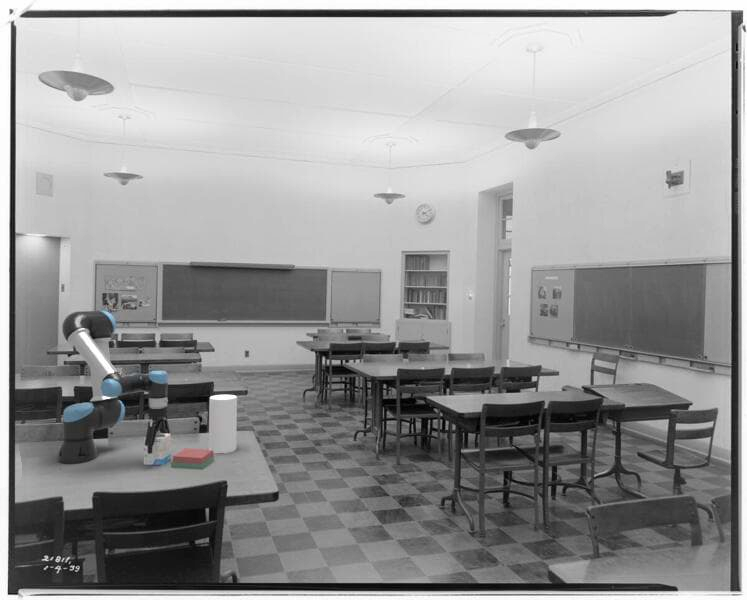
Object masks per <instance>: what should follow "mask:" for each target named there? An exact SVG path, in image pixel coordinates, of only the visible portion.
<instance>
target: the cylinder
mask: <svg viewBox="0 0 747 600" xmlns="http://www.w3.org/2000/svg"><path fill="white" fill-rule="evenodd" d="M208 406H209V407H208V408H209V409H208V411H209V412H208V413H209V417H208V450H213V454H216V453H217V454H218V453H224V454H229V452H230V453H233V452H235V451H236V450H237V426H238V425H237V422H238V418H237V417H238V416H237V415H238V411H237V410H238V396H237V395H235V394H224V393H223V394H216V395H211V396H210V397H209V405H208Z"/></svg>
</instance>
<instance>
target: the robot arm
mask: <svg viewBox="0 0 747 600" xmlns="http://www.w3.org/2000/svg"><path fill="white" fill-rule="evenodd" d="M61 329H62V334H63V338H64V339H65V340H66V342H67V343H68V344H69V345H72V346H74V348H75V349H76V350H77V352H78V354H79V355H80V356H81V357H82V358H83V360H84V361H85V362H86V363H87V365H88V366H89V367H90V368H89V369H90V377H91V378H90V379H91V387H92V398H91V399H90V400H89V402H81V403H80V402H79V403H78V402H77V403H75V404H71V405H69V406H66V408H65V409H64V410H63V416H62V424H63V425H62V444H61V446H60V447H61V448H60V449H59V452H58V457H57V460H58V462H59V461H60V462H59V463H61V462H62V464H80V463H85V462H89V461H92V460H94V459H96V458H97V457H98V450H97V447H96V444H95V441H94V432H95V431H99V430H102V429H103V430H104V429H108V428H112V427H114V426H118V425H119V424H121V422H122V421H123V420H124V418H125V413H126V408H125V405H124V403H123V401H121V400H120V399H119V397H121V396H123V395H129V394H135V393H140V392H145V393H148V407H149V408H148V417H150V418H152V419H151V421H148V422H147V431H146V435H145V437H146V440H145V446H147V461H154V446H155V445H153V444H154V441H155V438H156V434H157V433H158V432H159V431H160V432H159V433H165V434H171V430H170V426H169V421H168V402H169V399H168V383H169V378H168V377H169V375H168V372H167V371H166V370H152V371H150V372H149V373H148V374H146V373H139V372H138V373H135V372H134V373H132V374H130V375H128V376H122V375H121V373H119V372H118V370H117V369H116V368H115V366H114V365H113V364H112V362H111V356H110V346H109V345H110V344H109V342H110V341H111V340H112V336H113V334H114V333H115V331H116V329H117V322H116V320H115V318H114V316H113V314H111V313H110V312H109V311H106V310H89V311H85V310H84V311H74V312H72V313H70V314H68V315H67V316H66V317H65V319H64V320H63V323H62V327H61Z"/></svg>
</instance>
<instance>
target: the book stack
mask: <svg viewBox="0 0 747 600" xmlns="http://www.w3.org/2000/svg"><path fill="white" fill-rule="evenodd" d="M213 460H214V461H215V455H214V453H213V450H209V449H201V448H188V447H187V448H184V449H182V450H180V451H178V452H177V453H176V454H174V455H173V456H172V461H170V467H171V468H179V469H194V470H203V469H205V468H206V467H207V466H209V465H210V464H211V463H213V462H214V461H213ZM212 461H213V462H212Z"/></svg>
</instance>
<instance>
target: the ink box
mask: <svg viewBox="0 0 747 600" xmlns="http://www.w3.org/2000/svg"><path fill="white" fill-rule="evenodd" d="M171 436H172V435H171V433H169V434H165V433H161V432H157V434H156V438H155V441H154V444H153V445H155V446H154V461H147V446H145V440H146V436H145V437H143V465H147V466H148V465H149V466H164V465H165V464H166V463H168V462H170V460H172V459H171V458H172V455H171V453H172V450H171V449H172V447H171V445H172V444H171V442H172V441H171V440H172V439H171V438H172V437H171Z"/></svg>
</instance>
